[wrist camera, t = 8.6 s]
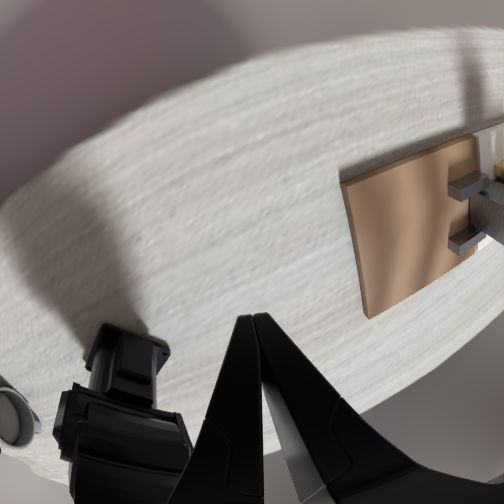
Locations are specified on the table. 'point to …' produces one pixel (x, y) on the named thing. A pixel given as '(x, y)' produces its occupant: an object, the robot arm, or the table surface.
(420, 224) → the door leaf
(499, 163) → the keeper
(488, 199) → the dark square pillar
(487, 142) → the jamb plate
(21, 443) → the ceramic mug
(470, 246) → the guide rails
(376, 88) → the table surface
